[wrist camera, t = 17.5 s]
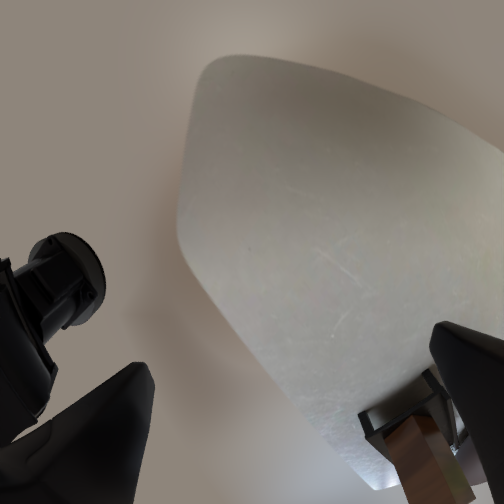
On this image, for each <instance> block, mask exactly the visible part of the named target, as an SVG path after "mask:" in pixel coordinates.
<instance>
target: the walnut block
mask: <svg viewBox="0 0 504 504" xmlns="http://www.w3.org/2000/svg"><path fill="white" fill-rule="evenodd" d="M384 442H385V444H386V446H387V449H388V451H389V454H390V456H391V459H392V461H393V464H394V466H395V469H396V471H397V474H398V476H399V479H400V482H401V484H402V487H403V489H404V492H405V495H406V497H407V500H408V503H409V504H469V503H470V502H472V501H473V500H475V499H476V497H475V495H474V493H473V491H472V489H471V487H470V485H469V483H468V481H467V479H466V477H465V475H464V473H463V471H462V469H461V467H460V465H459V463H458V461H457V460H456V458H455V456H454V454H453V452H452V450H451V449H450V447H449V445H448V443H447V441H446V440H445V438H444V436H443V434H442V433H441V431H440V429H439V428H438V426H437V424H436V422H435V421H434V419H433V417H427V416H419V415H411V416H410V417H409V418H408V419H407V420H406V421H405V422H403V423H402V424H401V425H400V426H399V427H398V428H397V429H396V430H395V431H394V432H392V433H391V434H390V435H389V436H388V437H387V438H385V439H384Z"/></svg>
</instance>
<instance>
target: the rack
mask: <svg viewBox="0 0 504 504" xmlns="http://www.w3.org/2000/svg"><path fill="white" fill-rule="evenodd" d="M422 376H423V378H424V379H425V381H426V382H427V384H428V385H429V387H430V388H431V389H432V391H433V393H432V394H431V395H429V396H428V397H426V398H425V399H424V400H422V401H421V402H419V403H418V404H417V405H415V406H414V407H412V408H411V409H409V410H408V411H406V412H405V413H403V414H401V415H400V416H398V417H397V418H395V419H393V420H392V421H390V422H389V423H387V424H385V425H383V426H382V427H380V428H378V429H376V430H375V431H374V428H373V426H372V423H371V421H370V418H369V416H368V414H367V413H366V411H363V412H362V413H360V414H358V417H359V420H360V422H361V425H362V428H363V430H364V433H365V439H366V440H367V441H368V442H369V443H370V444H371V445H372V446H373V447H374V448H375V449H376V450H378V451H379V452H380V453H381V454H382V455H383V456H384V457H385V458H386V459H388V460H389V461H390V462H391V463H392V464H393V461H392V459H391V456H390V454H389V451H388V449H387V446H386V444H385V442H384V439H385V438H387V437H388V436H389V435H390V434H391V433H392V432H394V431H395V430H396V429H397V428H398V427H399V426H400V425H401V424H402V423H403V422H405V421H406V420H407V419H408V418H409V417H410V416H411V415H419V416H427V417H433V419H434V421H435V422H436V424H437V426H438V428H439V429H440V431H441V433H442V434H443V436H444V438H445V440H446V441H447V443H448V445H449V447H450V446H451V445H453V446H454V447H455V449H456V450H457V449H459V444H458V436H457V429H456V423H455V417H454V411H453V406H452V401H451V397H450V395H449V394H448V393H447V391H446V390H445V388H444V387H443V386H441V385H440V383H439V382H438V381H437V379H436V378H435V377H434V375H433V374H432V373H431V371H430V370H429V369H427V370H426V371H424V372H423V373H422ZM393 465H394V464H393Z"/></svg>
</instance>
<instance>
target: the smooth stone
mask: <svg viewBox="0 0 504 504" xmlns="http://www.w3.org/2000/svg"><path fill="white" fill-rule="evenodd" d="M455 458H456V460H457V461H458V463H459V465H460V467H461V469H462V471H463V473H464V475H465V477H466V479H467V481H468V483H469V485H470V486H473V485H478V484H481V483H484V482H487V479H486V478H487V477H486V476H485V473H484V470H483V468H482V465H481V462H480V460H479V457H478V455H477V452H476V450H475V448H474V445H473V443H472V441H471V438H470V436H469V435H468V436H467V438H466V439H465V440H464V442H463V443H462V445H461V446H460V448H459V449H458V451H457V453H456V455H455Z"/></svg>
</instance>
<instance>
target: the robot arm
mask: <svg viewBox="0 0 504 504" xmlns="http://www.w3.org/2000/svg"><path fill="white" fill-rule="evenodd" d="M51 240H52V241H53V243H52V242H51ZM91 293H92V294H93V296H92V295H91ZM97 298H98V292H97V291H96V289H95V288H94V287H93V286H92V285H91V283H90V282H89V281H88V280H87V278H86V277H85V276H84V275H83V273H82V272H81V271H80V269H79V268H78V267H77V265H76V264H75V263H74V261H73V260H72V259H71V257H70V256H69V255H68V253H67V252H66V250H65V249H64V248H63V246H62V245H61V243H60V242H59V240H58V239H57V237H56V236H55V235H50V236H48V237H47V238H46V240H45V241H44V243H43V244H42V246H41V247H40V249H39V250H38V252H37V253H36V255H35V256H34V258H33V259H32V261H31V262H29V263H28V264H26V265H24V266H23V267H21V268H19V269H17V270H16V271H14V272H12V269H11V262H10V259H9V257H8V258H5V259H2V260H1V258H0V504H133V502H134V497H135V491H136V486H137V482H138V477H139V472H140V467H141V463H142V459H143V454H144V450H145V446H146V441H147V438H148V433H149V428H150V421H151V413H152V405H153V398H154V391H155V384H154V380H153V378H152V376H151V373H150V371H149V369H148V366H147V365H146V363H144V362H132V363H130V364H129V365H128V366H126V367H125V368H123V369H122V370H120V371H119V372H118V373H116V374H115V375H114V376H112V377H111V378H110V379H108V380H106V381H105V382H104V383H102V384H101V385H99V386H98V387H96V388H95V389H94V390H92V391H91V392H89V393H88V394H86V395H85V396H84V397H82V398H81V399H79V400H78V401H77V402H75V403H74V404H72V405H71V406H69V407H68V408H66V409H65V410H63V411H62V412H61V413H59V414H57V415H56V416H55V417H53V418H52V420H49V421H47V422H46V423H44V424H43V425H41V426H40V427H38V428H37V429H35V430H34V431H32V432H30V433H28V434H27V435H25V436H23V437H21V438H19V439H18V440H16V441H14V442H12V441H13V440H14V439H15V438H16V436H17V435H18V434H20V433H21V432H22V431H24V430H25V429H27V428H29V427H31V426H33V425H35V424H37V422H38V420H37V418H38V417H39V416H40V415H41V414H42V413H43V411H44V410H45V408H46V405H47V403H48V401H49V399H50V393H51V390H52V386H53V384H54V380H55V377H56V375H57V372H58V367H57V365H56V364H55V362H53V361H52V359H51V357H50V356H49V353H48V352H47V350H46V348H45V346H44V345H45V344H46V343H47V341H49V339H50V338H51V337H52V336H53V335H54V334H55V333H56V332H57V331H58V330H59V329H60V328H61V329H63V330H65V329H67V328H68V327H69V326H70V325H71V324H72V323H73V322H74V321H75V320H76V319H77V318H78V317H79V316H80V315H81V314H82V313H83V312H84V311H85V310H86V309H87V308H88V307H89V306H90V305H91V304H92V303H93V302H94V301H95V300H96V299H97ZM429 349H430V352H431V354H432V357H433V359H434V361H435V364H436V366H437V368H438V371H439V373H440V375H441V378H442V380H443V383H444V385H445V387H446V389H447V391H448V393H449V395H450V397H451V399H452V401H453V403H454V405H455V407H456V409H457V411H458V413H459V415H460V417H461V419H462V421H463V423H464V425H465V427H466V429H467V432H468V434H469V436H470V438H471V441H472V443H473V445H474V448H475V450H476V452H477V455H478V457H479V460H480V462H481V465H482V468H483V470H484V473H485V476H486V477H487V478H486V479H487V482H488V485H489V488H490V491H491V494H492V497H493V500H494V504H504V340H501V339H498V338H495V337H492V336H489V335H487V334H484V333H481V332H478V331H475V330H472V329H469V328H466V327H463V326H460V325H457V324H454V323H451V322H448V321H442V322H439V323H437V324H435V326H434V328H433V332H432V336H431V340H430V344H429ZM11 442H12V443H11Z"/></svg>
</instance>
